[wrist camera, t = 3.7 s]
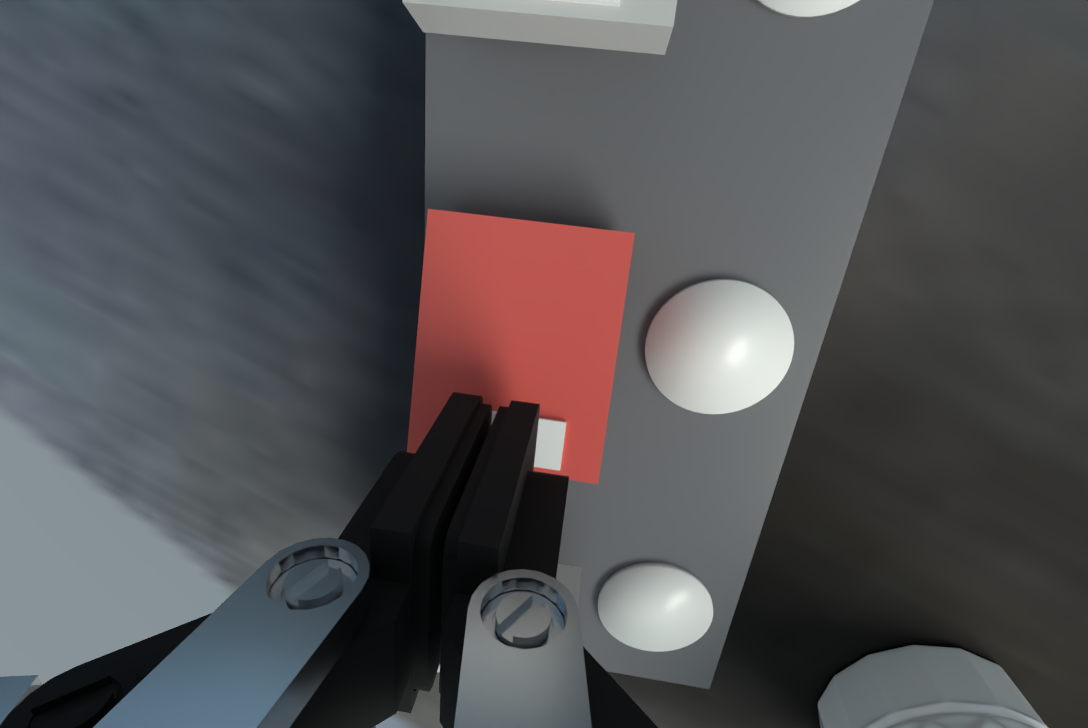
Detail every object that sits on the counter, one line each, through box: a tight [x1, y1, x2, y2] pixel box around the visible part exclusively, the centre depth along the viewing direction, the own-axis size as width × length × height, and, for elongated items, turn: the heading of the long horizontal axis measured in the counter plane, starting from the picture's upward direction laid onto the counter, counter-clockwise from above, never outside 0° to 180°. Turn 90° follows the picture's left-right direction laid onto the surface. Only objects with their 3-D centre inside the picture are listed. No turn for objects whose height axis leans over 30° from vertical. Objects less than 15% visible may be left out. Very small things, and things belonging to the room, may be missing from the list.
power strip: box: [425, 0, 934, 689], centre depth 13 cm, size 26×9×4 cm, turn 175°
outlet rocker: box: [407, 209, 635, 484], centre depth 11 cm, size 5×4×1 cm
